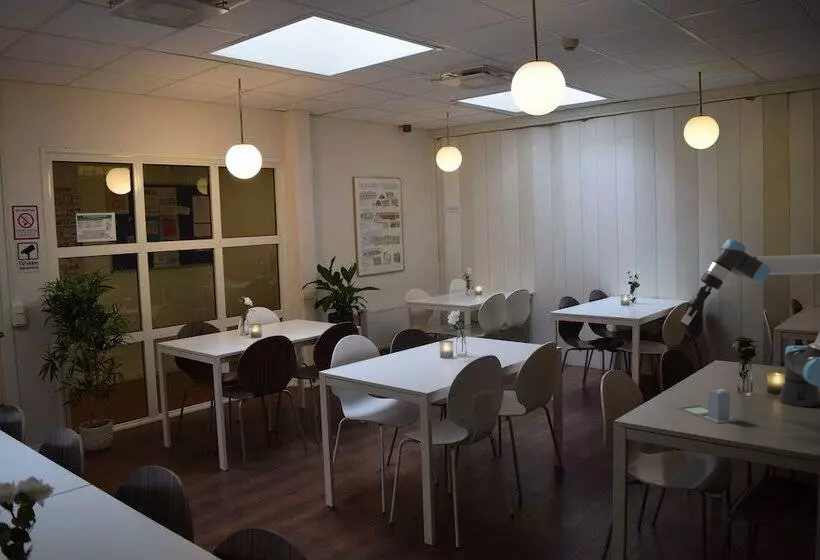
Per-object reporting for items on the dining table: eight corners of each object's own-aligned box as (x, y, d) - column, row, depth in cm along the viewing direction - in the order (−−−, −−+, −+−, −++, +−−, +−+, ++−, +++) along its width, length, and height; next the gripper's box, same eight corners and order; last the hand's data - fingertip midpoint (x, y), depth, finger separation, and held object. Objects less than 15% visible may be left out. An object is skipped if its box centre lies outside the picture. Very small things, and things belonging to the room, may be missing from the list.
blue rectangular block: (719, 415, 254) (719, 387, 253) (729, 419, 249) (729, 390, 248) (708, 417, 252) (708, 388, 251) (718, 420, 247) (718, 391, 246)
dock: (704, 408, 269) (704, 403, 269) (748, 423, 247) (748, 418, 247) (670, 412, 264) (670, 407, 264) (711, 428, 243) (711, 423, 243)
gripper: (703, 273, 277) (674, 317, 280) (707, 269, 254) (675, 318, 257) (721, 282, 275) (691, 327, 278) (726, 280, 252) (694, 328, 255)
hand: (684, 323), depth 267 cm, fingers open, 13 cm apart
